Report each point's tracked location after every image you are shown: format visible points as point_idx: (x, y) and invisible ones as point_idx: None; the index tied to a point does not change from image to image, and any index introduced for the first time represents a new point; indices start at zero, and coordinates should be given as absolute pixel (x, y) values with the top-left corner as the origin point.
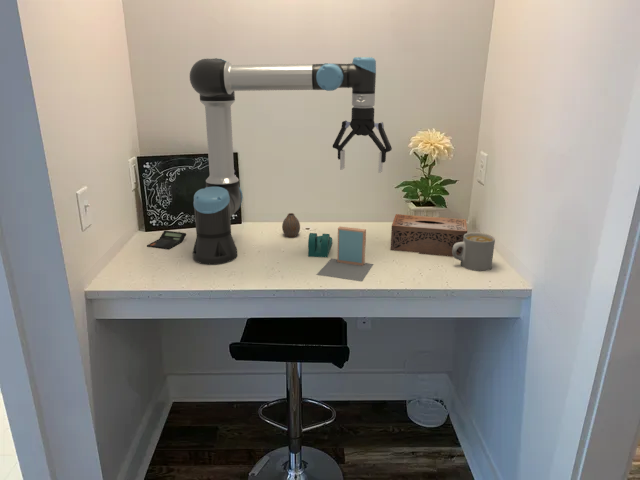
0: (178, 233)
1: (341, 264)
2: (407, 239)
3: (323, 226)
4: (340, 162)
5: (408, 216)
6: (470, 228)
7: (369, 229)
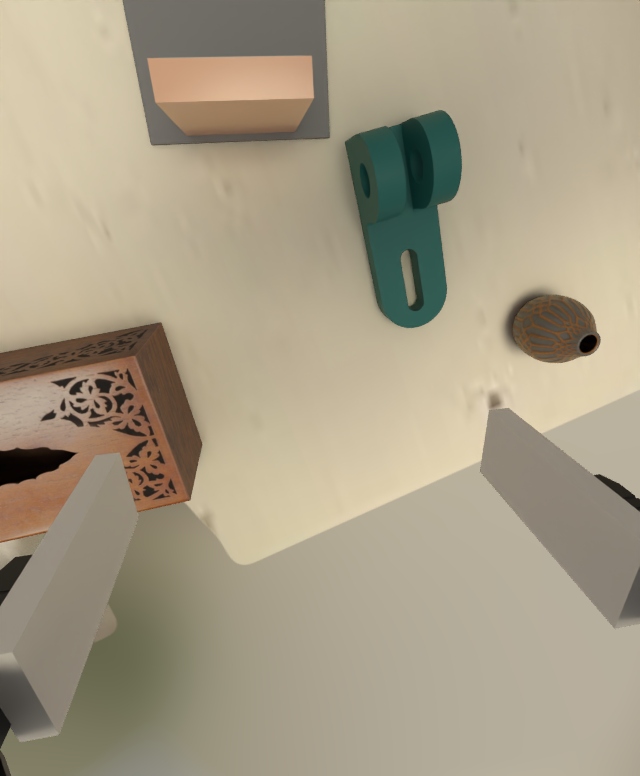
0: None
1: None
2: (82, 350)
3: (452, 442)
4: (551, 444)
5: None
6: None
7: (307, 481)
